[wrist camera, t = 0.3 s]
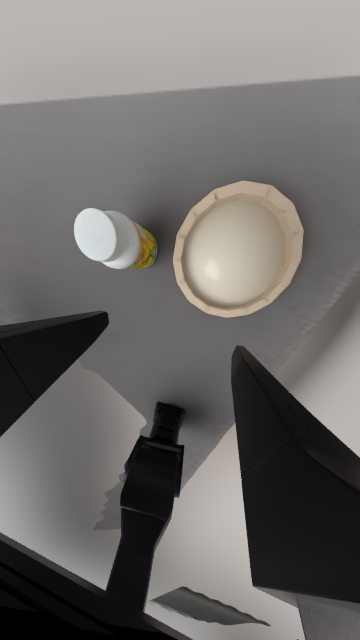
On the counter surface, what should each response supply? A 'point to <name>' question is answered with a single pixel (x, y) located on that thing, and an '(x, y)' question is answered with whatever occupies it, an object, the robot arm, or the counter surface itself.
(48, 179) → the counter surface
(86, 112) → the counter surface
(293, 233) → the round tray
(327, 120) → the counter surface
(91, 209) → the supplement bottle
